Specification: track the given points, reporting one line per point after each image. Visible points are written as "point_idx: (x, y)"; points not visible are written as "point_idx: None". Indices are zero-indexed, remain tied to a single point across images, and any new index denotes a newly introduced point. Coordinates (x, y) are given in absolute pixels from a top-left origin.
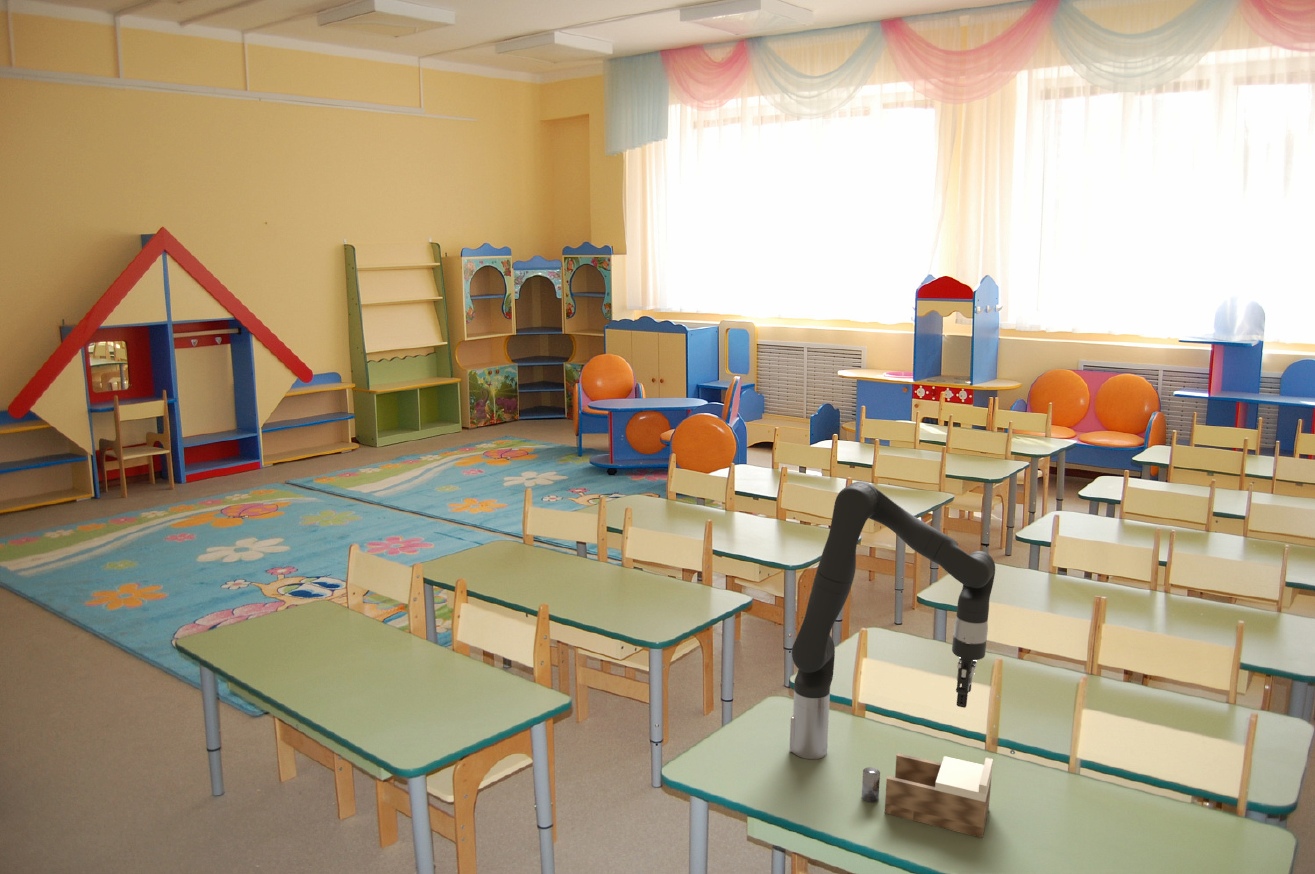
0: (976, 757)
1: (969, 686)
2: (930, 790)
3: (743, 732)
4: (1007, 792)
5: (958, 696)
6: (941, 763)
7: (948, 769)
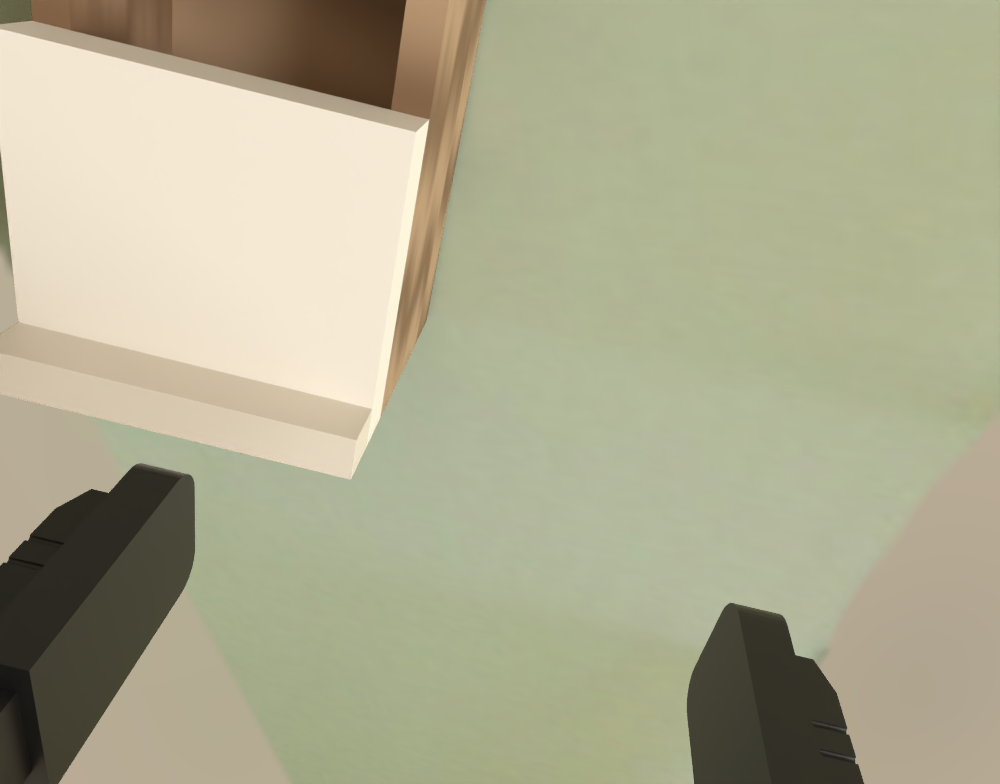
0: (952, 329)
1: (698, 760)
2: None
3: None
4: (602, 423)
5: (44, 588)
6: (427, 102)
7: (221, 149)
